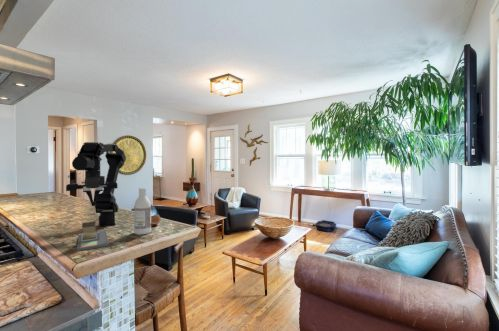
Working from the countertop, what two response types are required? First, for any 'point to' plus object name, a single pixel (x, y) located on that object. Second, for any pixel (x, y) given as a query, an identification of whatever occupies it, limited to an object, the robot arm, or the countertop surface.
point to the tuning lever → (88, 230)
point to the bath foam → (142, 214)
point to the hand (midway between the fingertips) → (93, 206)
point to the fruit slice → (155, 220)
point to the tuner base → (93, 241)
